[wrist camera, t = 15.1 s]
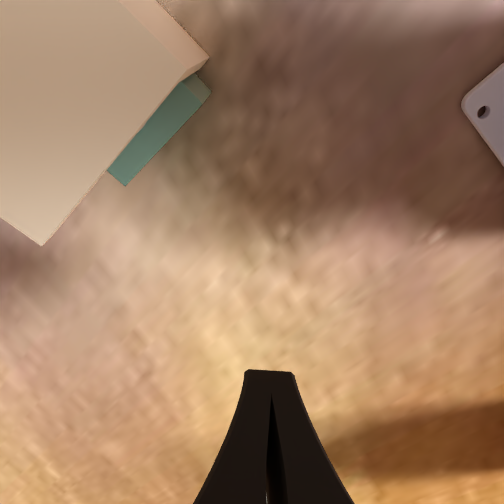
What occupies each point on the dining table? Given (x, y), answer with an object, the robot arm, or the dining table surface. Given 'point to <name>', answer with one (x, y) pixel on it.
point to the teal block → (160, 127)
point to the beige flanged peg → (78, 97)
